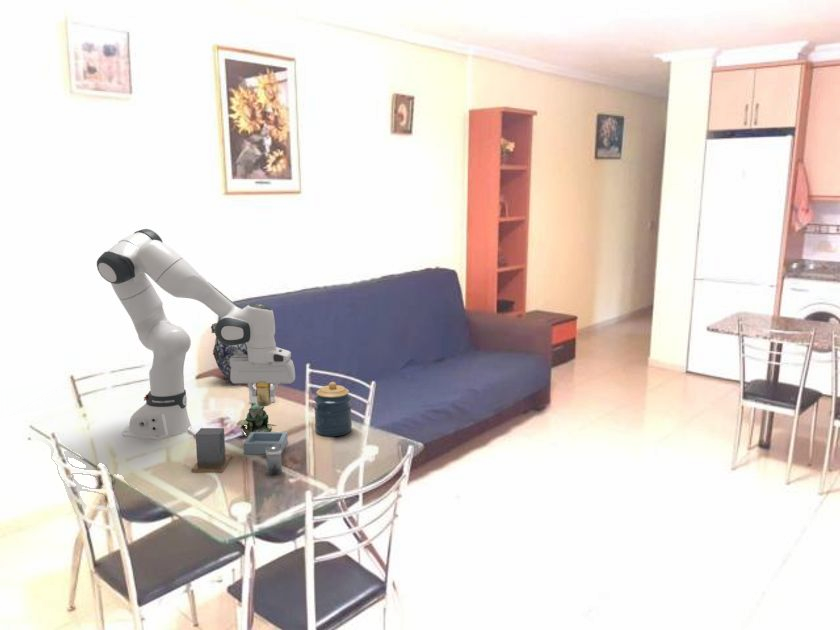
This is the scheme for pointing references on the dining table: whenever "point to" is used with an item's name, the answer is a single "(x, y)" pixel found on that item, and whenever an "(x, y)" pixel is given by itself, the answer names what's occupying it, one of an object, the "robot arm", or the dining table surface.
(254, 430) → the frog figurine
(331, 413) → the canister
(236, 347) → the decorative vase
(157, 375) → the robot arm
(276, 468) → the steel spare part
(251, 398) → the medicine bottle
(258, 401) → the gold lidded glass jar
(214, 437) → the block
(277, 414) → the dining table surface
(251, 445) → the tray
